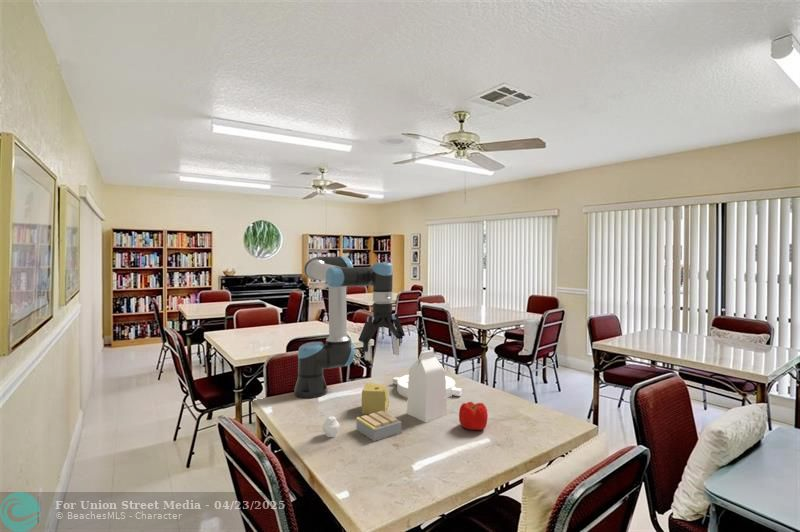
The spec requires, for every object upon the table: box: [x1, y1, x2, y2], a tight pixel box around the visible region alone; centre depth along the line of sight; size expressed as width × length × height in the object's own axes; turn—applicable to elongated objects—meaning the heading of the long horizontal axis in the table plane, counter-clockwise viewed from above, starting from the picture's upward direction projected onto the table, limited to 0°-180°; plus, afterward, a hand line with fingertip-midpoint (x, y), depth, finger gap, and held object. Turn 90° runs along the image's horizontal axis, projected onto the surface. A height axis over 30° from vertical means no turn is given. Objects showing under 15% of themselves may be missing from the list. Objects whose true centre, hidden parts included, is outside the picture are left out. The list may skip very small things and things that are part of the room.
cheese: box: [361, 382, 390, 415], centre depth 168 cm, size 10×11×10 cm
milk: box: [406, 349, 448, 423], centre depth 164 cm, size 12×12×26 cm
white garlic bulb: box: [321, 415, 341, 439], centre depth 144 cm, size 6×6×7 cm
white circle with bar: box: [392, 373, 463, 399], centre depth 194 cm, size 28×28×5 cm
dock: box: [356, 411, 402, 442], centre depth 148 cm, size 12×12×5 cm
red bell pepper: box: [458, 401, 489, 431], centre depth 152 cm, size 11×12×9 cm
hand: (382, 357), depth 154 cm, fingers open, 13 cm apart
